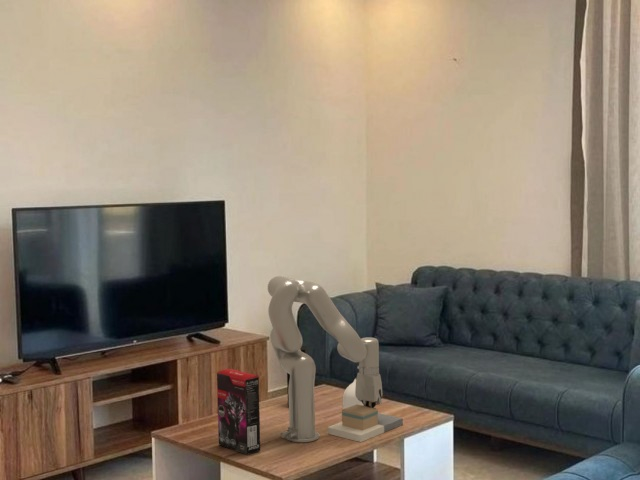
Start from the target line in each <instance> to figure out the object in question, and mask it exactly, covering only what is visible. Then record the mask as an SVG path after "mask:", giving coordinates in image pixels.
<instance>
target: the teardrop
mask: <svg viewBox="0 0 640 480" xmlns="http://www.w3.org/2000/svg"><path fill="white" fill-rule="evenodd" d="M355 388H356V378H354V380H353V382H351V383H350V384H349V385H348V386H347V387H346V388H345V390H344V392H343V396H342V408H343V409H346V408H348V407H351V406H354V405H356V404H357V405H362V406H364V405H363V403H362V402H361V401H359V400H358V399H357V398H356V396H355Z"/></svg>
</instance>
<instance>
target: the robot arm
mask: <svg viewBox="0 0 640 480" xmlns="http://www.w3.org/2000/svg"><path fill="white" fill-rule="evenodd" d="M267 291H268V294H269V295H270V296H271V299H270V301H269V305H268V309H267V310H268V316H269V317H268V318H269V321H270V323H271V327H272V328H271V331H270V334H269V335H270V336H269V338H270V343H271V346H272V348H273V350H274V353H275V356H276V358H277V361H278V362H279V365H280V366H281V368H282V370H283V371H284V372H285V373H286V374H287V373H288V374H290V381H289V389H288V391H287V395H288V394H289V408H288V417H289V419H288V420H289V422H288V423H289V425H288V426H287V430H286V431H283V432H281V433H280V437H281V438H282V439H284V438H285V439H286V440H287V441H288V442H293V443H309V442H314V441H317V440H318V439H319V438H320V433H319V432H318V431H317V430H316V412H315V411H316V408H315V406H316V405H315V379H316V371H317V370H316V364H315V360H314V359H313V358H312V356H310V355H309V354H308V353H307V354H305V353H304V352H301V350H300V348H301V346H303V342H304V341H303V336H302V333H301V331H300V329H299V327H298V324H297V322H296V320H295V317H294V313H293V305H294V302H295V303H301V304H305V305H306V306H307V307H308V309H309V311H310V312H311V313H312V315H313V316H314V318H315V319H316V320H317V323H319V325H320V326H321V328H322V329H323V330H324V331H326V332H327V333H328V334H329V335H330V336H332V337H333V338H334V339H335V340H336V341H337V342H338V343H337V347H336V349H337V352H338V354H339V356H341V357H342V358H345V359H347V360H349V361H351V362H353V363H358V365H357V370H358V372H357V375H356V377H355V379H356V388H355V396H356V398H357V399H358V400H359V401H361V402H362V403H363V405H364V406H367V407H371V408H376V406H378V405H381V404H382V399H383V385H382V384H383V382H382V377H381V374H380V364H379V363H380V362H379V361H380V357H379V355H380V354H379V353H380V352H379V351H380V347H379V340H378V339H377V338H375V337H367V336H366V337H362V338H361V337H360V336H359V334H358V332H357V331H356V330H355V328H353V327H352V325H351V324H350V323H349V322H348V321H347V319H346V318H345V317H344V316H343V315H342V314H341V312H340V311H339V310H338V308H337V306H336V305H335V304H334V302H333V300H332V299H331V297H330V296H329V294H328V293H327V292H326V290H325V289H324V288H323V286H322V285H321V284H318V283H315V282H311V281H307V280H302V279H301V280H300V279H295V278H289V277H286V276H281V275H278V276H274V277H272V278H271V279H270V280H269V282H268V284H267Z"/></svg>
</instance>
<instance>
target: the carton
mask: <svg viewBox="0 0 640 480" xmlns="http://www.w3.org/2000/svg"><path fill="white" fill-rule="evenodd" d="M378 413H379V411H378V408H376V407H374V408H371V407H367V406H362V405H357V404H356V405H354V406H351V407H348V408H346V409H345V408H343V409H341V422H342V425H343V426H347V427H351V428H355V429H359V430H365V429H368V428H370V427H373V426H375V425H378Z"/></svg>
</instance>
